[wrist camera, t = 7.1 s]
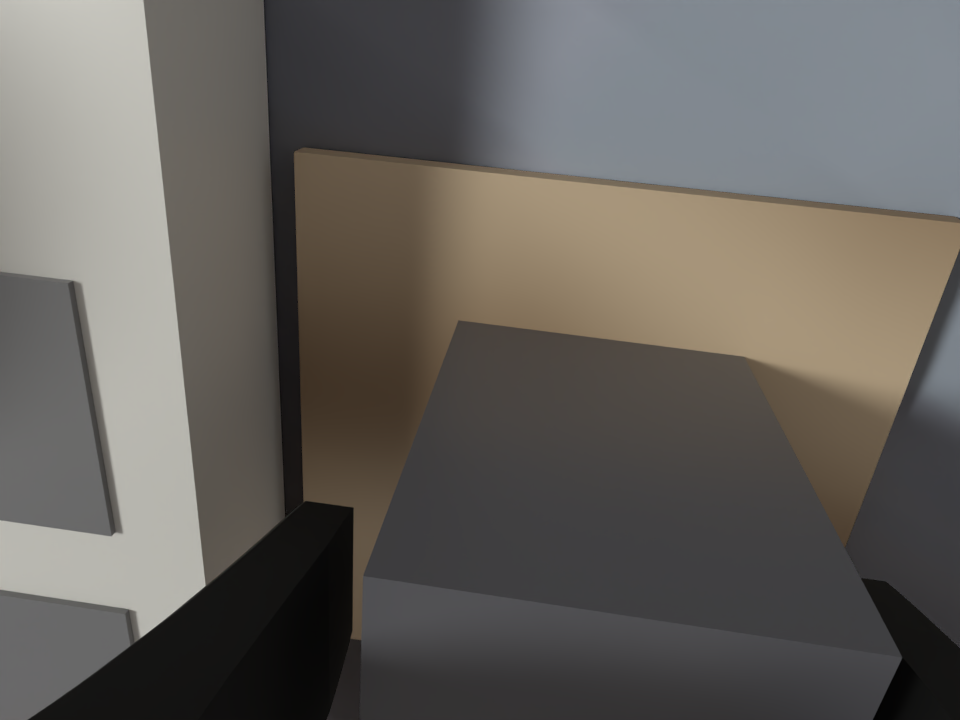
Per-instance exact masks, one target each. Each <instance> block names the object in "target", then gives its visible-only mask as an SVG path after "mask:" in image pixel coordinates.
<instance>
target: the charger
mask: <svg viewBox="0 0 960 720" xmlns="http://www.w3.org/2000/svg"><path fill="white" fill-rule="evenodd" d="M901 659H902V656H901V654H900V652H899V650H898V648H897V646H896V644H895V642H894V641H893V639H892V637H891V635H890V633H889V631H888V629H887V627H886V625H885V623H884V622H883V620H882V618H881V616H880V614H879V612H878V610H877V608H876V606H875V604H874V603H873V601H872V599H871V597H870V595H869V593H868V591H867V589H866V587H865V585H864V583H863V582H862V580H861V578H860V576H859V574H858V572H857V570H856V568H855V566H854V564H853V563H852V561H851V559H850V557H849V555H848V553H847V551H846V549H845V547H844V545H843V544H842V542H841V540H840V538H839V536H838V534H837V532H836V530H835V528H834V526H833V525H832V523H831V521H830V519H829V517H828V515H827V513H826V511H825V509H824V507H823V506H822V504H821V502H820V500H819V498H818V496H817V494H816V492H815V490H814V488H813V486H812V485H811V483H810V481H809V479H808V477H807V475H806V473H805V471H804V469H803V467H802V466H801V464H800V462H799V460H798V458H797V456H796V454H795V452H794V450H793V448H792V447H791V445H790V443H789V441H788V439H787V437H786V435H785V433H784V431H783V429H782V428H781V426H780V424H779V422H778V420H777V418H776V416H775V414H774V412H773V410H772V408H771V407H770V405H769V403H768V401H767V399H766V397H765V395H764V393H763V391H762V389H761V388H760V386H759V384H758V382H757V380H756V378H755V376H754V374H753V372H752V370H751V369H750V367H749V365H748V363H747V361H746V359H745V357H743V356H735V355H727V354H719V353H711V352H704V351H696V350H688V349H680V348H672V347H664V346H656V345H649V344H641V343H633V342H625V341H617V340H609V339H602V338H594V337H586V336H578V335H570V334H562V333H554V332H547V331H539V330H531V329H523V328H515V327H507V326H500V325H492V324H484V323H476V322H468V321H460V320H458V323H457V326H456V328H455V331H454V334H453V336H452V339H451V342H450V344H449V347H448V350H447V352H446V355H445V358H444V360H443V363H442V366H441V368H440V371H439V374H438V376H437V379H436V382H435V384H434V387H433V390H432V393H431V395H430V398H429V401H428V403H427V406H426V409H425V411H424V414H423V417H422V419H421V422H420V425H419V427H418V430H417V433H416V435H415V438H414V441H413V443H412V446H411V449H410V451H409V454H408V457H407V459H406V462H405V465H404V468H403V470H402V473H401V476H400V478H399V481H398V484H397V486H396V489H395V492H394V494H393V497H392V500H391V502H390V505H389V508H388V510H387V513H386V516H385V518H384V521H383V524H382V526H381V529H380V532H379V535H378V537H377V540H376V543H375V545H374V548H373V551H372V553H371V556H370V559H369V561H368V564H367V567H366V569H365V572H364V575H363V595H362V634H361V673H360V711H359V720H873V718H874V716H875V714H876V712H877V710H878V708H879V705H880V703H881V701H882V699H883V697H884V695H885V693H886V691H887V689H888V687H889V685H890V682H891V680H892V678H893V676H894V674H895V672H896V670H897V668H898V666H899V664H900V662H901Z"/></svg>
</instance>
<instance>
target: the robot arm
mask: <svg viewBox="0 0 960 720" xmlns="http://www.w3.org/2000/svg"><path fill="white" fill-rule="evenodd" d="M353 525H354V507H347V506H339V505H332V504H325V503H318V502H311V501H305V502H303V503H302V504H300V505H299V506H298V507H296V508H295V509H294V510H293V511H292V512H291V513H289V514H288V515H287V516H286V517H285V518H284V519H283V520H281V521H280V522H279V523H278V524H277V525H276V526H275V527H274V528H272V529H271V530H270V531H269V532H268V533H267V534H266V535H265V536H263V537H262V538H261V539H260V540H259V541H258V542H257V543H255V544H254V545H253V546H252V547H251V548H250V549H249V550H247V551H246V552H245V553H244V554H243V555H242V556H241V557H239V558H238V559H237V560H236V561H235V562H234V563H232V564H231V565H230V566H229V567H228V568H227V569H225V570H224V571H223V572H222V573H221V574H220V575H218V576H217V577H216V578H215V579H213V580H212V581H211V582H210V583H209V584H207V585H206V586H205V587H204V588H203V589H201V590H200V591H199V592H198V593H197V594H195V595H194V596H193V597H192V598H190V599H189V600H188V601H187V602H186V603H184V604H183V605H182V606H181V607H180V608H178V609H177V610H176V611H175V612H173V613H172V614H171V615H170V616H168V617H167V618H166V619H165V620H163V621H162V622H161V623H160V624H158V625H157V626H156V627H155V628H153V629H152V630H151V631H149V632H148V633H147V634H145V635H144V636H143V637H141V638H140V639H139V640H137V641H136V642H135V643H133V644H132V645H131V646H129V647H128V648H127V649H125V650H124V651H123V652H121V653H120V654H119V655H117V656H116V657H115V658H113V659H112V660H111V661H109V662H108V663H107V664H105V665H104V666H103V667H101V668H100V669H99V670H97V671H96V672H95V673H93V674H92V675H91V676H89V677H88V678H87V679H85V680H84V681H82V682H81V683H80V684H78V685H77V686H75V687H74V688H73V689H71V690H70V691H68V692H67V693H65V694H64V695H63V696H61V697H60V698H58V699H57V700H56V701H54V702H53V703H51V704H50V705H48V706H47V707H45V708H44V709H42V710H41V711H39V712H38V713H37V714H35V715H34V716H32V717H31V718H29V719H28V720H326V719H327V716H328V714H329V711H330V708H331V705H332V701H333V698H334V695H335V691H336V688H337V684H338V681H339V678H340V674H341V671H342V667H343V663H344V660H345V656H346V653H347V649H348V645H349V642H350V638H351V634H352V631H353ZM861 580H862V582H863V583H864V585H865V587H866V589H867V591H868V593H869V595H870V597H871V599H872V601H873V603H874V604H875V606H876V608H877V610H878V612H879V614H880V616H881V618H882V620H883V622H884V623H885V625H886V627H887V629H888V631H889V633H890V635H891V637H892V639H893V641H894V642H895V644H896V646H897V648H898V650H899V652H900V654H901V656H902V659H901V662H900V664H899V666H898V668H897V670H896V672H895V674H894V676H893V678H892V680H891V682H890V685H889V687H888V689H887V691H886V693H885V695H884V697H883V699H882V701H881V703H880V705H879V708H878V710H877V712H876V714H875V716H874V718H873V720H960V648H959V647H958V646H957V645H956V644H955V643H954V642H952V641H951V640H950V639H949V638H948V637H947V636H946V635H945V634H944V633H943V632H942V631H941V630H940V629H939V628H937V627H936V626H935V625H934V624H933V623H932V622H931V621H930V620H929V619H928V618H927V617H926V616H924V615H923V614H922V613H921V612H920V611H919V610H918V609H917V608H916V607H915V606H914V605H912V604H911V603H910V602H909V601H908V600H907V599H906V598H905V597H903V596H902V595H901V594H900V593H899V592H898V591H896V590H895V589H894V588H893V587H892V586H890V585H889V584H888V583H887V582H884V581H877V580H870V579H863V578H861Z"/></svg>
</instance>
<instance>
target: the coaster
mask: <svg viewBox="0 0 960 720" xmlns="http://www.w3.org/2000/svg"><path fill="white" fill-rule="evenodd" d="M294 173H295V209H296V246H297V282H298V318H299V355H300V391H301V427H302V464H303V500H304V502H305V501H311V502H318V503H325V504H332V505H339V506H347V507H354V525H353V631H352V634H351V638H350V639H356V640H361V634H362V595H363V575H364V572H365V569H366V567H367V564H368V561H369V559H370V556H371V553H372V551H373V548H374V545H375V543H376V540H377V537H378V535H379V532H380V529H381V526H382V524H383V521H384V518H385V516H386V513H387V510H388V508H389V505H390V502H391V500H392V497H393V494H394V492H395V489H396V486H397V484H398V481H399V478H400V476H401V473H402V470H403V468H404V465H405V462H406V459H407V457H408V454H409V451H410V449H411V446H412V443H413V441H414V438H415V435H416V433H417V430H418V427H419V425H420V422H421V419H422V417H423V414H424V411H425V409H426V406H427V403H428V401H429V398H430V395H431V393H432V390H433V387H434V384H435V382H436V379H437V376H438V374H439V371H440V368H441V366H442V363H443V360H444V358H445V355H446V352H447V350H448V347H449V344H450V342H451V339H452V336H453V334H454V331H455V328H456V326H457V323H458V320H460V321H468V322H476V323H484V324H492V325H500V326H507V327H515V328H523V329H531V330H539V331H547V332H554V333H562V334H570V335H578V336H586V337H594V338H602V339H609V340H617V341H625V342H633V343H641V344H649V345H656V346H664V347H672V348H680V349H688V350H696V351H704V352H711V353H719V354H727V355H735V356H743V357H745V359H746V361H747V363H748V365H749V367H750V369H751V370H752V372H753V374H754V376H755V378H756V380H757V382H758V384H759V386H760V388H761V389H762V391H763V393H764V395H765V397H766V399H767V401H768V403H769V405H770V407H771V408H772V410H773V412H774V414H775V416H776V418H777V420H778V422H779V424H780V426H781V428H782V429H783V431H784V433H785V435H786V437H787V439H788V441H789V443H790V445H791V447H792V448H793V450H794V452H795V454H796V456H797V458H798V460H799V462H800V464H801V466H802V467H803V469H804V471H805V473H806V475H807V477H808V479H809V481H810V483H811V485H812V486H813V488H814V490H815V492H816V494H817V496H818V498H819V500H820V502H821V504H822V506H823V507H824V509H825V511H826V513H827V515H828V517H829V519H830V521H831V523H832V525H833V526H834V528H835V530H836V532H837V534H838V536H839V538H840V540H841V542H842V544H843V545H844V547H846V544H847V541H848V539H849V536H850V534H851V531H852V528H853V526H854V523H855V521H856V518H857V515H858V513H859V510H860V508H861V505H862V502H863V500H864V497H865V495H866V492H867V489H868V487H869V484H870V482H871V479H872V476H873V474H874V471H875V469H876V466H877V463H878V461H879V458H880V456H881V453H882V450H883V448H884V445H885V442H886V440H887V437H888V435H889V432H890V429H891V427H892V424H893V422H894V419H895V416H896V414H897V411H898V409H899V406H900V403H901V401H902V398H903V396H904V393H905V390H906V388H907V385H908V383H909V380H910V377H911V375H912V372H913V370H914V367H915V364H916V362H917V359H918V357H919V354H920V351H921V349H922V346H923V344H924V341H925V338H926V336H927V333H928V331H929V328H930V325H931V323H932V320H933V318H934V315H935V312H936V310H937V307H938V305H939V302H940V299H941V297H942V294H943V292H944V289H945V286H946V284H947V281H948V279H949V276H950V273H951V271H952V268H953V266H954V263H955V260H956V258H957V255H958V253H959V250H960V219H958V218H956V217H952V216H943V215H934V214H924V213H915V212H905V211H896V210H887V209H877V208H868V207H859V206H849V205H840V204H830V203H821V202H812V201H802V200H793V199H783V198H774V197H765V196H755V195H746V194H737V193H727V192H718V191H708V190H699V189H690V188H680V187H671V186H661V185H652V184H643V183H633V182H624V181H615V180H605V179H596V178H586V177H577V176H568V175H558V174H549V173H539V172H530V171H521V170H511V169H502V168H493V167H483V166H474V165H464V164H455V163H446V162H436V161H427V160H417V159H408V158H399V157H389V156H380V155H371V154H361V153H352V152H342V151H333V150H324V149H314V148H305V147H303V148H301V149H299V150H297V151H295V152H294Z"/></svg>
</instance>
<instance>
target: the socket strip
mask: <svg viewBox="0 0 960 720" xmlns="http://www.w3.org/2000/svg"><path fill="white" fill-rule="evenodd" d="M284 518H285V503H284V478H283V454H282V430H281V406H280V382H279V358H278V334H277V310H276V286H275V262H274V238H273V214H272V190H271V166H270V142H269V117H268V93H267V69H266V45H265V21H264V0H0V720H28V719H29V718H31V717H32V716H34V715H35V714H37V713H38V712H39V711H41V710H42V709H44V708H45V707H47V706H48V705H50V704H51V703H53V702H54V701H56V700H57V699H58V698H60V697H61V696H63V695H64V694H65V693H67V692H68V691H70V690H71V689H73V688H74V687H75V686H77V685H78V684H80V683H81V682H82V681H84V680H85V679H87V678H88V677H89V676H91V675H92V674H93V673H95V672H96V671H97V670H99V669H100V668H101V667H103V666H104V665H105V664H107V663H108V662H109V661H111V660H112V659H113V658H115V657H116V656H117V655H119V654H120V653H121V652H123V651H124V650H125V649H127V648H128V647H129V646H131V645H132V644H133V643H135V642H136V641H137V640H139V639H140V638H141V637H143V636H144V635H145V634H147V633H148V632H149V631H151V630H152V629H153V628H155V627H156V626H157V625H158V624H160V623H161V622H162V621H163V620H165V619H166V618H167V617H168V616H170V615H171V614H172V613H173V612H175V611H176V610H177V609H178V608H180V607H181V606H182V605H183V604H184V603H186V602H187V601H188V600H189V599H190V598H192V597H193V596H194V595H195V594H197V593H198V592H199V591H200V590H201V589H203V588H204V587H205V586H206V585H207V584H209V583H210V582H211V581H212V580H213V579H215V578H216V577H217V576H218V575H220V574H221V573H222V572H223V571H224V570H225V569H227V568H228V567H229V566H230V565H231V564H232V563H234V562H235V561H236V560H237V559H238V558H239V557H241V556H242V555H243V554H244V553H245V552H246V551H247V550H249V549H250V548H251V547H252V546H253V545H254V544H255V543H257V542H258V541H259V540H260V539H261V538H262V537H263V536H265V535H266V534H267V533H268V532H269V531H270V530H271V529H272V528H274V527H275V526H276V525H277V524H278V523H279V522H280V521H281V520H283V519H284Z"/></svg>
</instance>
